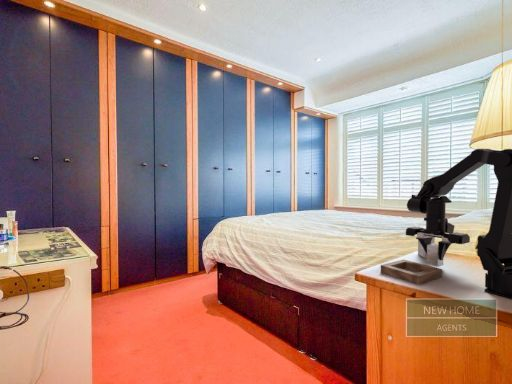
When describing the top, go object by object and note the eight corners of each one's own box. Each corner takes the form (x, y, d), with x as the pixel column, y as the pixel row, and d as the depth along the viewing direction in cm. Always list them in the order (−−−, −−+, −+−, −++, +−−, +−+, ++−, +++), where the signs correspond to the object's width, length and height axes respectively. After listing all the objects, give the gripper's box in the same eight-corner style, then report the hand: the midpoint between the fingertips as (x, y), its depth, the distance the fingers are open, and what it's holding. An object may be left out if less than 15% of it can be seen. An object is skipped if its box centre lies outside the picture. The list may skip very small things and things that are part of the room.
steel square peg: (443, 264, 96) (443, 245, 95) (437, 266, 94) (437, 246, 94) (432, 262, 99) (432, 243, 99) (427, 264, 97) (427, 244, 97)
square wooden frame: (441, 276, 88) (442, 269, 88) (418, 284, 82) (418, 276, 82) (403, 266, 100) (403, 259, 100) (380, 272, 94) (380, 265, 94)
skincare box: (434, 258, 109) (435, 228, 109) (423, 257, 110) (423, 228, 110) (428, 254, 115) (428, 226, 115) (417, 253, 116) (417, 226, 116)
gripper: (478, 216, 91) (477, 261, 92) (421, 211, 108) (421, 250, 108) (461, 218, 86) (460, 267, 87) (404, 213, 102) (404, 254, 103)
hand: (435, 258), depth 96 cm, fingers closed on steel square peg, 4 cm apart
